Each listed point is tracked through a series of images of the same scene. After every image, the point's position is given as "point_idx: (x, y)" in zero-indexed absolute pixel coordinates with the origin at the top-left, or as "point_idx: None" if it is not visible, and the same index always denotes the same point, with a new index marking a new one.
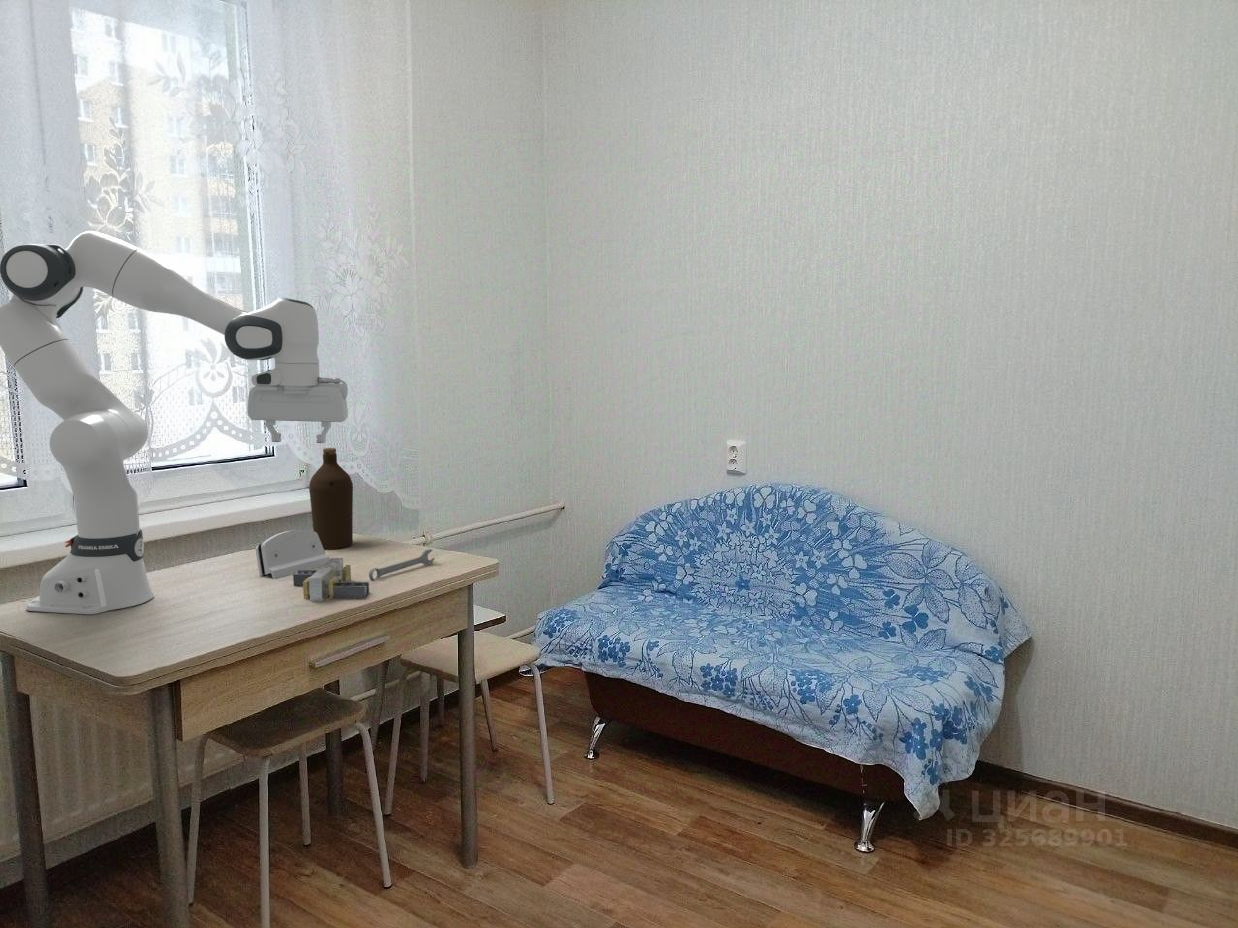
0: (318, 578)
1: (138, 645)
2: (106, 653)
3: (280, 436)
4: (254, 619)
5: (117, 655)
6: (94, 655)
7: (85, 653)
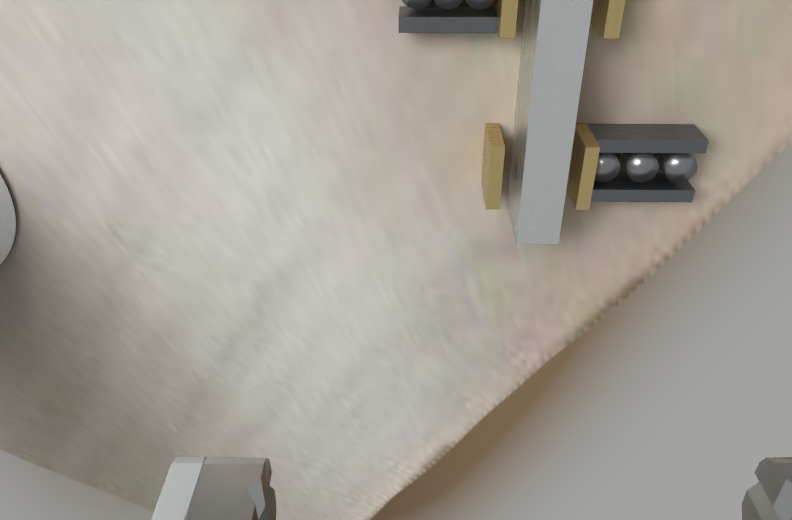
0: (548, 243)
1: None
2: None
3: (256, 516)
4: (401, 346)
5: None
6: None
7: None
